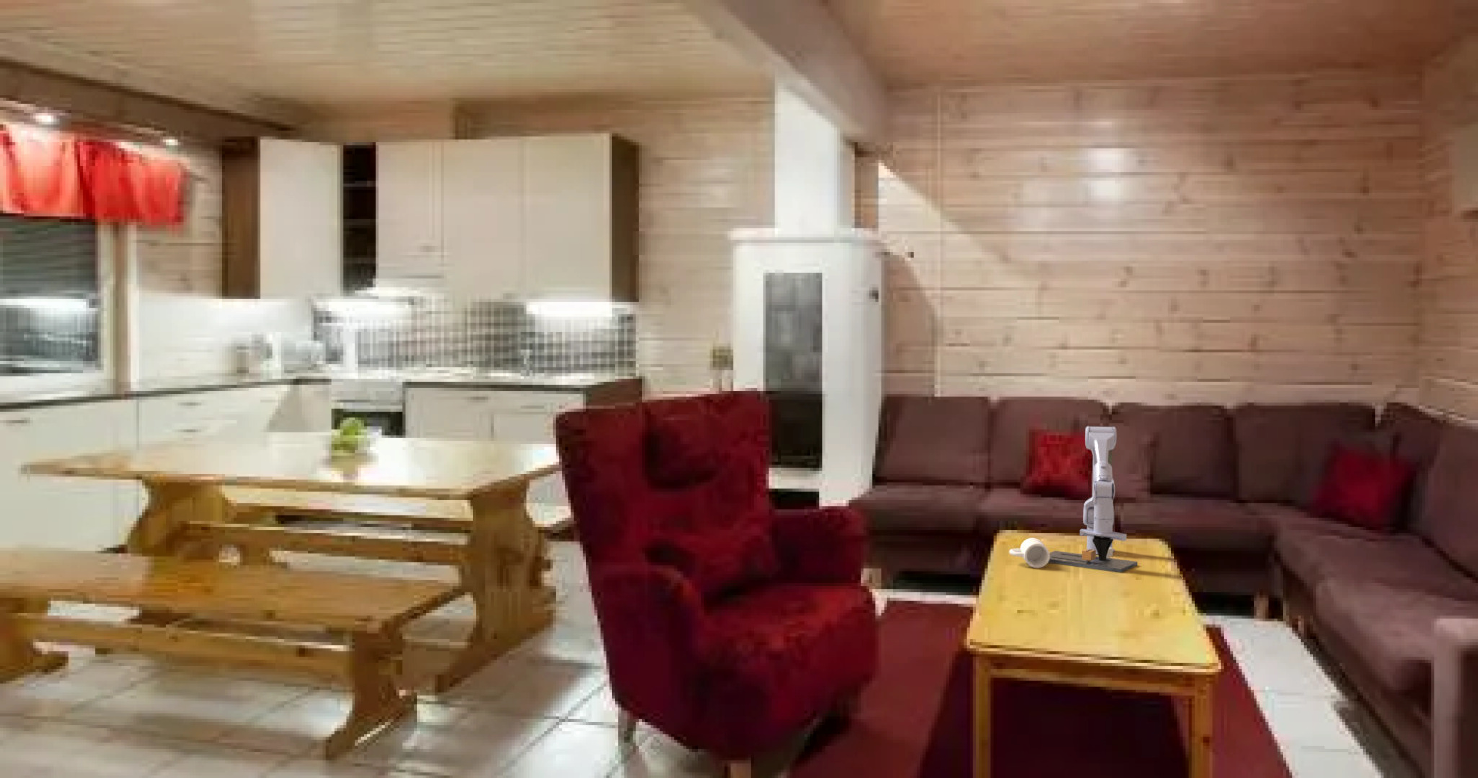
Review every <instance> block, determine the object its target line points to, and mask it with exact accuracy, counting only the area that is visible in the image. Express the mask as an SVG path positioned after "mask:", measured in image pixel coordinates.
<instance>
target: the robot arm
mask: <svg viewBox="0 0 1478 778" xmlns="http://www.w3.org/2000/svg"><path fill="white" fill-rule="evenodd" d="M1117 436H1118V434H1117V428H1116V427H1115V426H1089V425H1087V426H1086V427H1085V436H1084V437H1085V438H1084V440H1085V441H1084V442H1085V443H1084V444H1085V447H1086V448H1085V449H1087V450H1090V451H1091V453H1092V493H1091V495H1092V496H1091V497H1090V498H1088V499H1087V500H1086V501H1085V502H1084V503H1083V510H1082V511H1083V515H1082V516H1083V518H1082V519H1083V524H1084V525H1085V526H1086V528H1081V529H1080V530H1079V536H1081V537H1083V536H1084V537H1086V549H1092V550H1096V555H1097V556H1099V561H1105V560H1106V556H1107V553H1108V550H1109V547H1110V548H1113V542H1114V540H1118V541H1121V542H1124V541H1127V533H1121V532H1116V531H1113V525H1114V521H1115V510H1114V509H1115V508H1114V499H1115V495H1116V485H1115V480H1114V478H1113V467H1112V465H1111V464H1110V463H1109V451H1112V450H1114V449H1115V448H1116V444H1117V438H1118V437H1117ZM1114 552H1116V549H1115V548H1113V553H1114Z"/></svg>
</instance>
